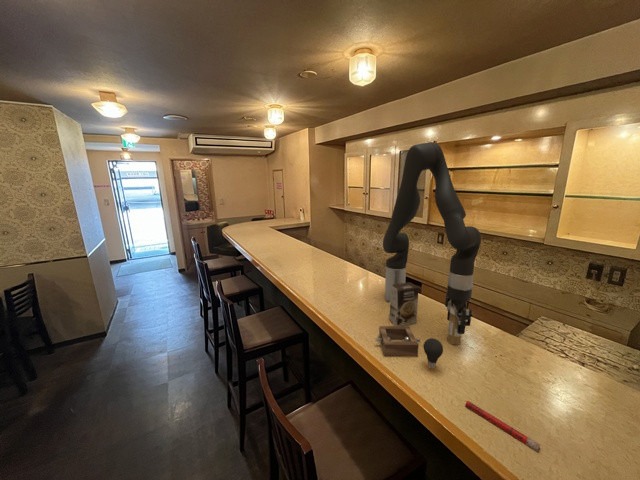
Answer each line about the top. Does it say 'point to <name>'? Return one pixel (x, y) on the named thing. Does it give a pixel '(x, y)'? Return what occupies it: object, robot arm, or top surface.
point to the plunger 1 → (382, 339)
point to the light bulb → (433, 351)
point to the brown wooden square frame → (398, 347)
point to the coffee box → (403, 304)
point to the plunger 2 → (409, 339)
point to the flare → (504, 426)
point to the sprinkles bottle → (453, 328)
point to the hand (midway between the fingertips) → (455, 326)
